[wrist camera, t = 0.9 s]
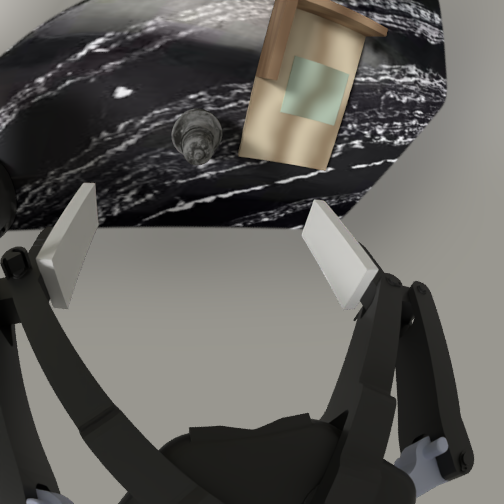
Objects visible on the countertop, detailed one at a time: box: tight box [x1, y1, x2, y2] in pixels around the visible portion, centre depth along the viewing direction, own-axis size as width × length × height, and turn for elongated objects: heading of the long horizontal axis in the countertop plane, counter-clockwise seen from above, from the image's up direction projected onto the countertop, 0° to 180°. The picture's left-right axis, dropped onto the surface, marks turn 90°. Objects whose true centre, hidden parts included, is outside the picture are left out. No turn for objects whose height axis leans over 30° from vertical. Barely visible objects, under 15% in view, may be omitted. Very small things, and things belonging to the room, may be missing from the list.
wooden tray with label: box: [238, 0, 388, 171], centre depth 28 cm, size 13×23×6 cm, turn 168°
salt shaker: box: [172, 108, 222, 165], centre depth 27 cm, size 6×6×12 cm
